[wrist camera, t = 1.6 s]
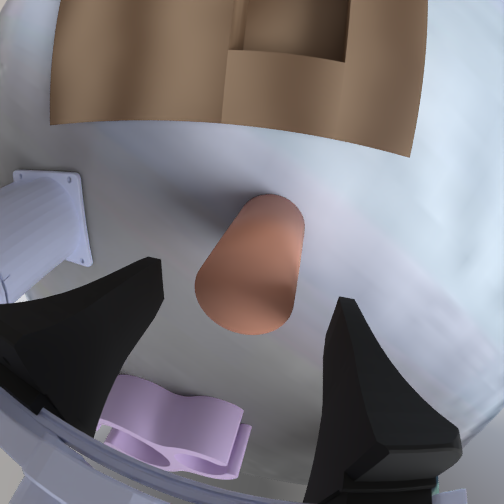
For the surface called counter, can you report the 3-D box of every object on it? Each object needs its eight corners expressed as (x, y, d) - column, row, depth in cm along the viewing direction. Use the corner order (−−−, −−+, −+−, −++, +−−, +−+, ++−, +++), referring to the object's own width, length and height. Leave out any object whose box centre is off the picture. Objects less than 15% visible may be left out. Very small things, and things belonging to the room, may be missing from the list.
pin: (235, 249, 19) (195, 322, 13) (240, 189, 17) (194, 243, 11) (298, 261, 18) (284, 343, 12) (310, 200, 16) (303, 264, 10)
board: (80, 118, 16) (50, 125, 14) (97, -30, 11) (70, -39, 8) (393, 147, 14) (409, 157, 11) (409, -37, 8) (424, -58, 5)
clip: (232, 385, 26) (211, 446, 20) (259, 441, 32) (247, 487, 26) (90, 366, 32) (63, 403, 26) (133, 419, 37) (115, 454, 31)
